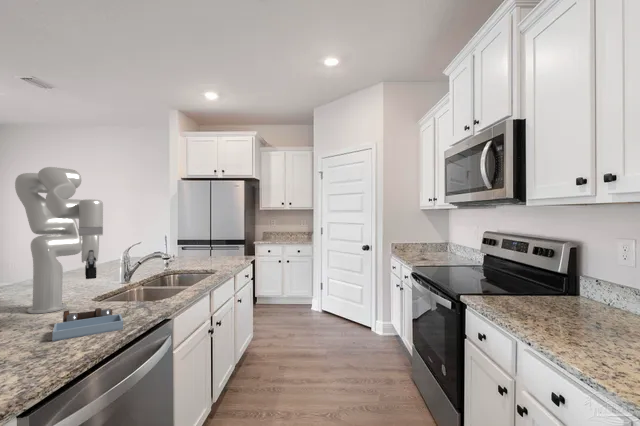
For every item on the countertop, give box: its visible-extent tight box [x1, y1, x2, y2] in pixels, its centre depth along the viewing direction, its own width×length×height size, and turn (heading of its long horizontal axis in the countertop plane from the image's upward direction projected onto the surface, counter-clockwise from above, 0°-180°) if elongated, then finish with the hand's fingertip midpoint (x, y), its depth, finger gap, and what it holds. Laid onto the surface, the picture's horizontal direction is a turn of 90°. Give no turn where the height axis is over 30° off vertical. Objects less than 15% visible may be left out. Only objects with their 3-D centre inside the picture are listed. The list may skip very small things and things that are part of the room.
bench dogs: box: [67, 308, 111, 322], centre depth 117 cm, size 3×13×4 cm, turn 126°
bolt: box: [62, 307, 113, 322], centre depth 121 cm, size 6×5×15 cm
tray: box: [51, 313, 124, 342], centre depth 111 cm, size 10×19×3 cm, turn 127°
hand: (90, 276), depth 121 cm, fingers open, 9 cm apart
